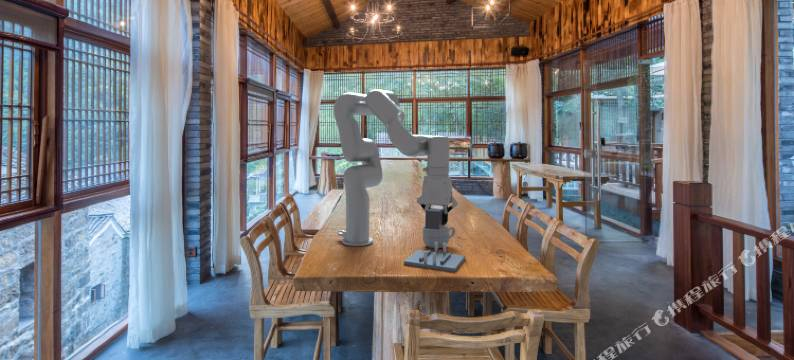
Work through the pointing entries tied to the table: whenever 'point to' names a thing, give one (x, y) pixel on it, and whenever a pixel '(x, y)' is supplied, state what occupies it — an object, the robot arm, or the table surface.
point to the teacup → (437, 236)
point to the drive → (434, 218)
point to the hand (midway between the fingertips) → (436, 222)
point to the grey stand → (435, 259)
